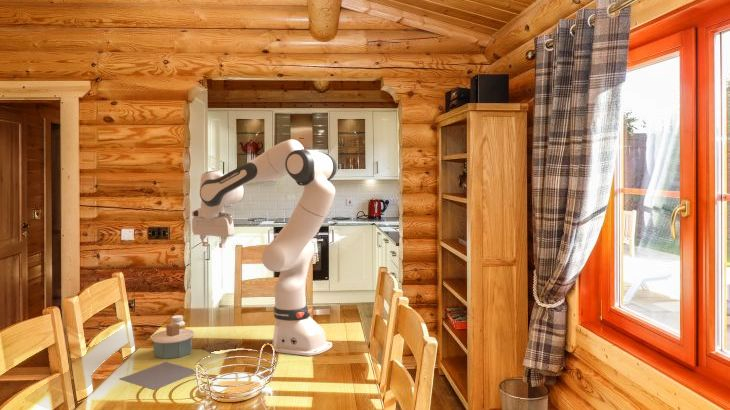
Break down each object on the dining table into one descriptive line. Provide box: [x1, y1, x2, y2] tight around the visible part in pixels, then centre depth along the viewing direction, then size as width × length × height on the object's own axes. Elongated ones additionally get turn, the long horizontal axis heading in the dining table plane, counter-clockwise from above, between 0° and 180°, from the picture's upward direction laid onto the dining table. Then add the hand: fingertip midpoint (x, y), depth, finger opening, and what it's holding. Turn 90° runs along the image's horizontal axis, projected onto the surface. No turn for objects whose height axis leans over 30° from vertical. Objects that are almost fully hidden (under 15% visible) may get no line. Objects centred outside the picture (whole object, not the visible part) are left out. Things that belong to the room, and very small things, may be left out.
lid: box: [151, 323, 195, 343], centre depth 188 cm, size 14×14×4 cm
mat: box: [119, 361, 196, 391], centre depth 168 cm, size 17×17×1 cm
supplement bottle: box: [169, 314, 186, 329], centre depth 203 cm, size 5×5×10 cm
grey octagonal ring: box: [153, 337, 193, 360], centre depth 189 cm, size 12×12×6 cm
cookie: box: [201, 340, 246, 354], centre depth 194 cm, size 12×12×1 cm
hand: (213, 246), depth 214 cm, fingers open, 8 cm apart
